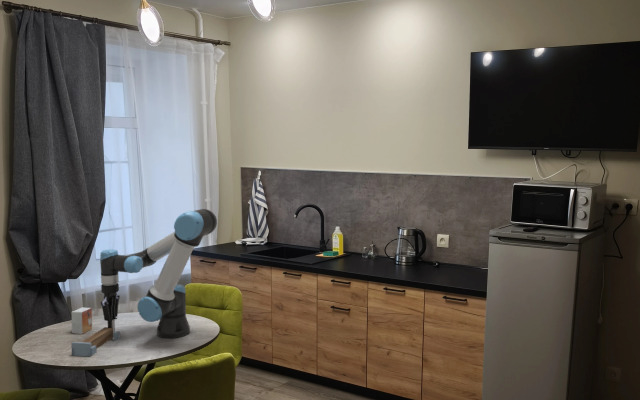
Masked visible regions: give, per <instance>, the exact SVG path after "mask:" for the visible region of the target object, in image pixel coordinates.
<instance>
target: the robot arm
mask: <svg viewBox="0 0 640 400" xmlns="http://www.w3.org/2000/svg"><path fill="white" fill-rule="evenodd" d="M217 224H218V219H217V216H216V214H215V213H214V212H213V211H212V210H210V209H206V208H200V209H196V210H188V211H185V212H182V213H181V214H179V215H178V216H177V218H176V219H175V221H174V224H173V225H174V226H173V229H174V231H173V232H172V233H170V234H168V235H167V236H165V237H164V238H162V239H160V240H158V241H157V242H155V243H153V244H152V245H150V246H148V247H146V248H144V249H143V250H141V251H140V252H136V253H131V254H125V255H121V254H119V252H118V249H113V248H112V249H111V248H110V249H105V250H104V249H103V250H102V251H100V255H99V256H100V257H99V258H100V259H99V262H100V263H99V264H100V283H101V285H100V289H101V290H100V291H101V293H102V294H104V295H103V301H100V305H101V309H102V314H103V318H104V321H106V322H107V327H108V328H113V333H115V332H116V324H115V323H116V320H118V314H119V302H120V301H119V300H120V298H121V296H120V295H118V294H117V293H118V292H119V291H120V287H119V285H120V284H119V282H120V281H119V273H130V274H133V273H134V274H137V273H139V272H141V270H142V269H144V268H146V267H151V266H153V265H155V264H156V263H157V262H158V261H159V260H161V259H163V258H164V257H166V256H167V258H166V260H165V262H164V264H163V266H162V268H161V271H160V273H159V275H158V277H157V280H156V281H155V284H153V285H150V287H149V288H148V291H147V292H146V295H144V296H142V298H140V299H139V301H138V302H137V312H138V314H139V316H140V317H141V318H142V319H143V320H144V321H146V322H148V323H153V322H156V321H157V322H158V321H159V322H158V324H157V328H156V336H157V337H160V338H163V339H176V338H181V337H184V336H187V335H189V334H190V333H191V332H190V331H191V327H190V324H189V320H188V317H187V316H186V315H187V312H186V311H187V307H186V306H187V304H186V303H187V302H186V301H187V300H186V298H187V297H186V287H185V286H184V285H183V284H178V283H179V281H180V278H181V276H182V274H183V272H184V270H185V268H186V266H187V263H188V261H189V260H190V257H191V255H192V252H193V250H194V248H196V247H199V246H200V244H201V242H202V239H203V238H204V237H205V236H207V235H210V234H212V233H213V232H214V231H215V230H216V228H217V226H218V225H217ZM189 332H190V333H189ZM188 333H189V334H188Z"/></svg>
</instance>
